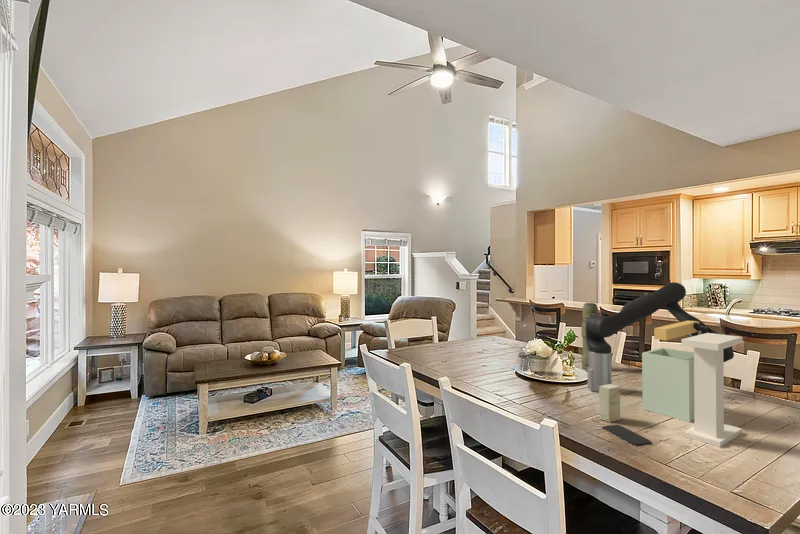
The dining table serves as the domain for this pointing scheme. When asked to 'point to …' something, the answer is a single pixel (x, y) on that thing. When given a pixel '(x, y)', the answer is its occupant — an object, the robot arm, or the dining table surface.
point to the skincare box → (609, 402)
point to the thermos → (587, 311)
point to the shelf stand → (710, 389)
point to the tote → (668, 383)
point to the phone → (627, 435)
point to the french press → (523, 356)
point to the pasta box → (674, 330)
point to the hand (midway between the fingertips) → (688, 323)
